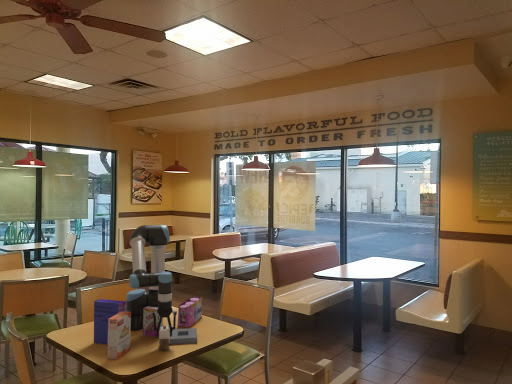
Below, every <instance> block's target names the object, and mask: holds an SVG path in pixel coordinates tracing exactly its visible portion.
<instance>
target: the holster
mask: <svg viewBox="0 0 512 384" xmlns="http://www.w3.org/2000/svg"><path fill="white" fill-rule="evenodd" d="M158 345H159V346H158V348H159V349H158V351H159V352H169V350H170V344H169V339H159V338H158Z"/></svg>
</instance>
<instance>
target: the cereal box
mask: <svg viewBox="0 0 512 384" xmlns="http://www.w3.org/2000/svg"><path fill="white" fill-rule="evenodd" d="M122 311H124V312H126V300H114V299H101V298H98V299H95V300H94V301H93V344H97V345H99V344H100V345H104V346H105V345H107V346H108V319H109V318H111V317H113V316H114V315H116V314H118V313H120V312H122Z"/></svg>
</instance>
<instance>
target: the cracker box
mask: <svg viewBox="0 0 512 384" xmlns="http://www.w3.org/2000/svg"><path fill="white" fill-rule="evenodd" d="M130 329H131V312H124V311H122V312H120V313H118V314H116V315H114V316H113V317H111V318H109V319H108V345H107V350H106V353H107V360H115V361H117V360H119V359H120V358H121V357H123V355H125V354H126V353H128V352H129V351H130V350H131V331H130Z"/></svg>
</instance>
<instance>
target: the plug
mask: <svg viewBox="0 0 512 384" xmlns="http://www.w3.org/2000/svg"><path fill="white" fill-rule="evenodd" d="M169 330H170V329H169V325H163V327H161V329H160V339H169Z"/></svg>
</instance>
